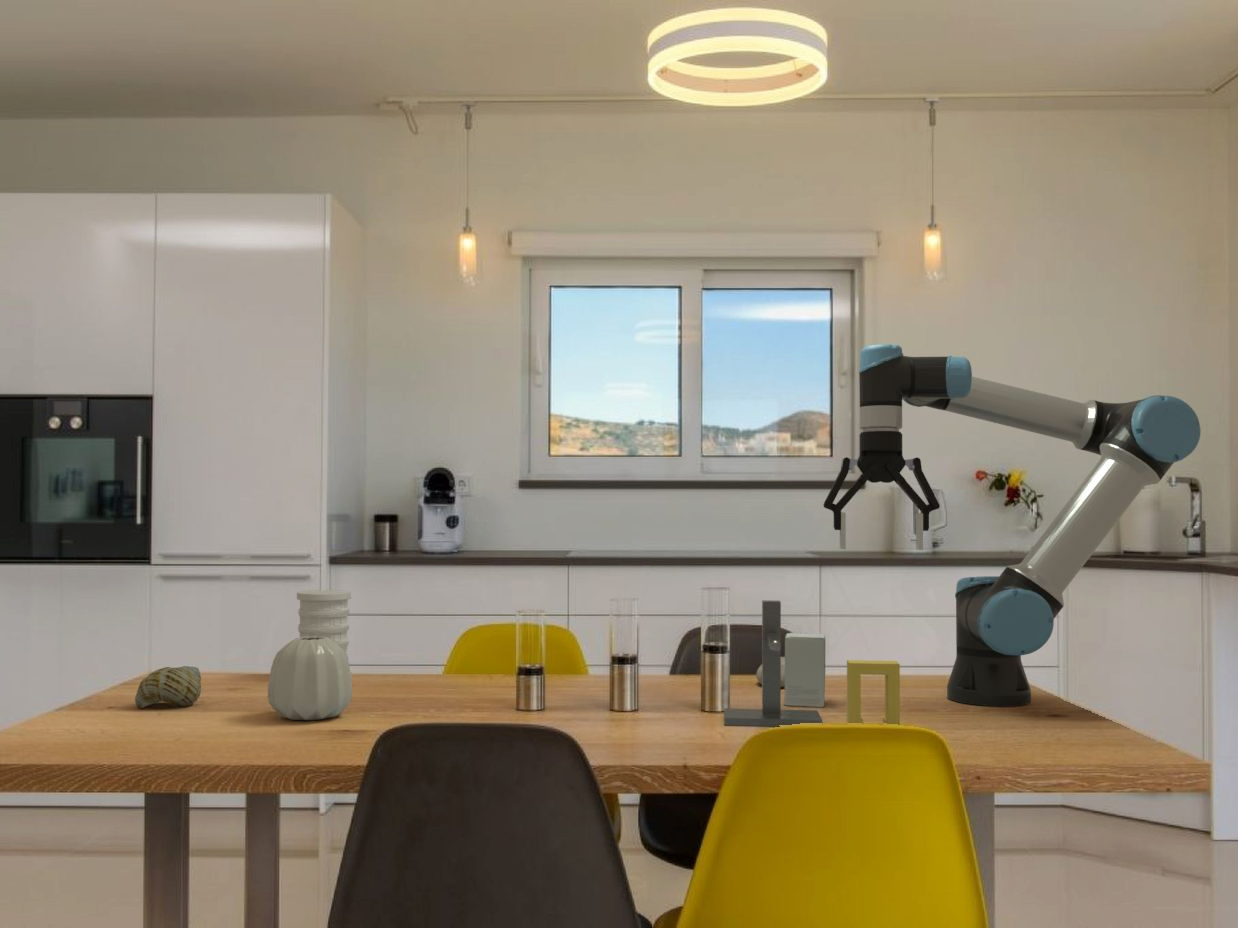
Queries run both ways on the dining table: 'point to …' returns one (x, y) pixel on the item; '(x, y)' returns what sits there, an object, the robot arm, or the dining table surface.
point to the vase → (310, 679)
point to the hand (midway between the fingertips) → (881, 549)
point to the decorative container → (325, 615)
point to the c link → (891, 688)
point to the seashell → (170, 687)
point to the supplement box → (805, 669)
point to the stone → (759, 673)
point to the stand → (770, 681)
